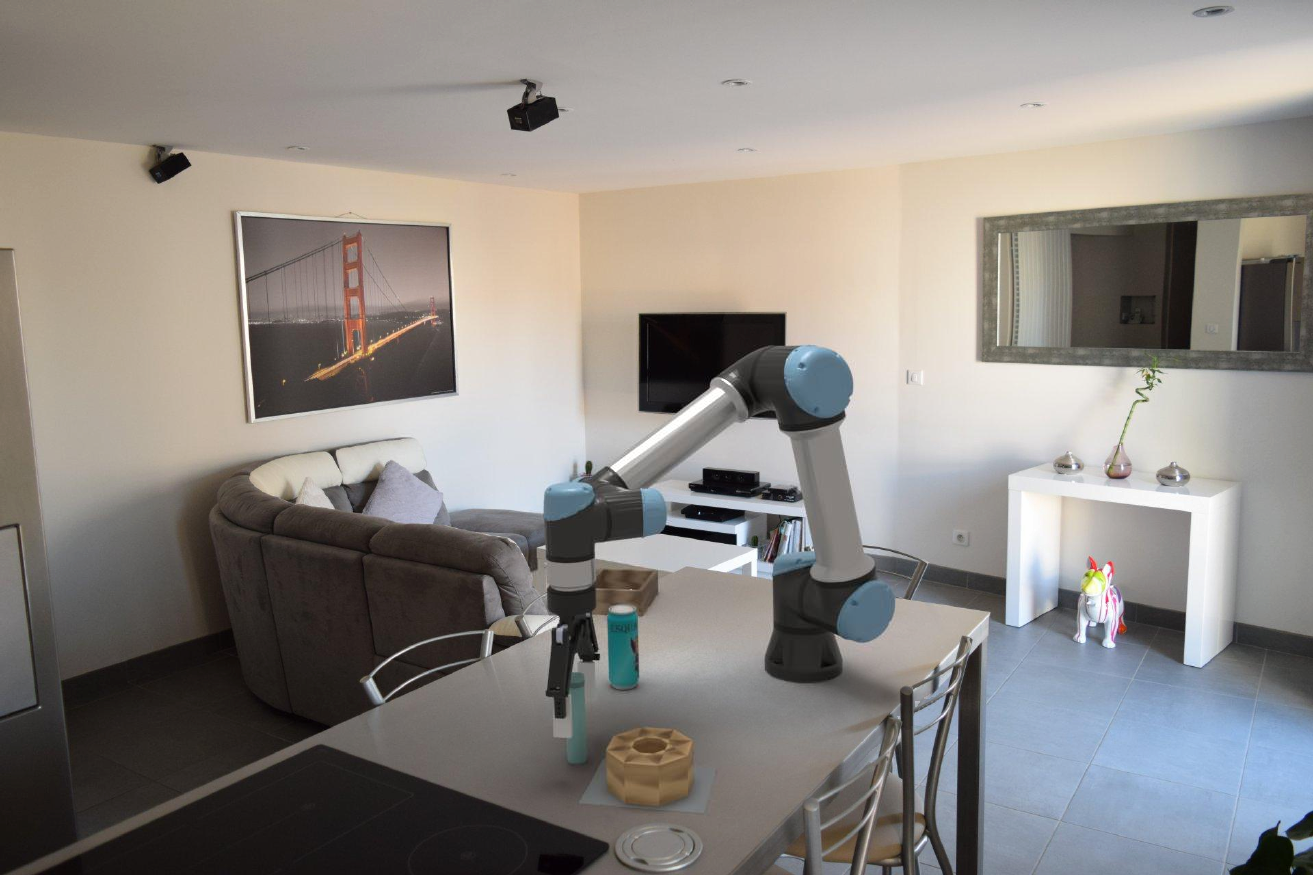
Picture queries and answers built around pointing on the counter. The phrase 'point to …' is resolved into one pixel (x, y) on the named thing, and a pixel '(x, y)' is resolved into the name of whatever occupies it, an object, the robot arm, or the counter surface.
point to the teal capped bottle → (577, 721)
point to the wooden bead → (650, 766)
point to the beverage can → (623, 646)
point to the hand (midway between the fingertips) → (575, 718)
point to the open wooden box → (625, 589)
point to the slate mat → (688, 804)
